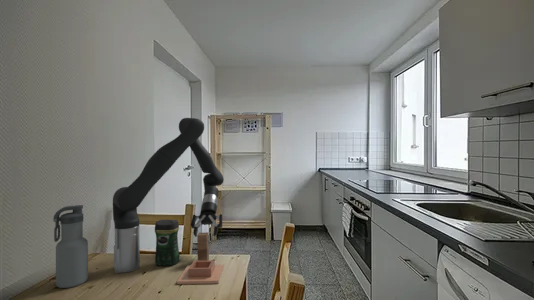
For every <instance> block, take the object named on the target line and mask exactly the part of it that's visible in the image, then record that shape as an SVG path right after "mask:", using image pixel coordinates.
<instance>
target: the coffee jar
mask: <svg viewBox="0 0 534 300" xmlns="http://www.w3.org/2000/svg"><path fill="white" fill-rule="evenodd" d="M179 225H180V224H179V221H178V219H160V220H157V221H155V224H154V233H155V237H156V238H155V239H156V240H155V257H154V263H155V265H156V266H173V265H177V264H178V263H179V262H180V251H179V248H180V247H179V240H178V238H179V237H178V236H179V235H178V232H179V229H180V226H179Z"/></svg>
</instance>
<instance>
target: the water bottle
mask: <svg viewBox="0 0 534 300" xmlns="http://www.w3.org/2000/svg"><path fill="white" fill-rule="evenodd" d="M83 209H84V205H83V204H78V205H77V204H75V205H67V206H63V207H61V208H60V209H58V210H56V212H55V214H54V215H53V219H52V220H53V222H54V223H55V225H54V226H55V227H54V229H53V241H54V242H55V243H56V246H55V285H56V287H58V288H60V289H70V288H74V287H77V286H81V285H82V284H84V283H86V282H87V281H88V278H89V241H88V239H86V238H85V237H84V234H83V233H84V230H83V229H84V227H83V226H84V223H83V222H84V213H83ZM66 211H67V212H68V211H70V212H68V213H67V212H66ZM63 212H64V213H63ZM65 212H66V213H65ZM62 213H63V214H62ZM61 214H62V215H61ZM60 239H61V240H60ZM57 242H58V243H57Z"/></svg>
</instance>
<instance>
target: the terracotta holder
mask: <svg viewBox="0 0 534 300" xmlns="http://www.w3.org/2000/svg"><path fill="white" fill-rule="evenodd" d="M224 270H225V264H216V260H215V259H214V260H210V259H209V260H208V261H198V260H193V261H192V263H191V264H190V265H189V264H188V265H186V267H185V269H184V270H183V272H182V273H181V274H180V276H179V278H177V280H176V285H201V284H202V285H203V284H205V285H209V284H220V281H221V278H222V275H223V272H224Z"/></svg>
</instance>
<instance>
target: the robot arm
mask: <svg viewBox="0 0 534 300" xmlns="http://www.w3.org/2000/svg"><path fill="white" fill-rule="evenodd" d="M178 131H179V132H180V133H179V135H178V136H177V137H175V138H174V139H172V140H170V141H169V142H167V143H166V144H163V146H161V147H159V148H158V149H157V150H156V151H155V152H154V153H153V155H151V156H150V158H149V159H148V160H147V162H146V164H145V165H144V166H143V169H142V171H141V173H140V174H139V176H137V178H136V179H134V180H133V182H132V183H131V184H129V186H122V187H120V188H118V189H117V190H115V192H114V193H113V196H112V219H113V223H114V245H113V270H114V272H115V273H116V274H119V273H122V274H123V273H129V272H133V271H136V270H138V269H139V268H140V267H141V265H140V264H141V261H140V260H141V255H140V254H141V253H140V248H141V247H140V218H139V214H138V207H140V205H141V203H142V202H143V201H144V200H145V198H146V197H147V195H148V194H149V192H150V191H151V190H152V188H154V186H155V185H156V184H157V183H158V182H159V181H160V180H161V179H162V177H163V176H164V175H166V173H167V172H168V171H169V170H170V169H171V167H172V166H173V165H174V164H175V163H176V162H177V160H179V158H180V157H181V156H182V155H183V154H184V153H185V152H186V151H187V149H188V148H190V149H191V151H192V153H193V155H194V156H195V159H196V161H197V163H198V165H199V167H200V170H201V171H202V173H203V174H205V175H204V176H203V178H202V183H203V187H204V192H203V198H202V201H201V207H200V213H199V215H196V214H193V215H192V218H191V220H190V221H191V223H190V227H191V229H193V232H192V233H193V236H194V237H195V238H197V235H198V233H199V229H200V227H202V226H203V225H204V226H206V225H208V226H210V225H212V226H213V237H217V235H218V231H219V229H223V214H219V215H217V213H218V212H217V210H218V204H219V203H218V202H219V201H218V199H219V188H218V186H221V185H223V183H224V175H223V174H222V172H221V171H220V170H219V169H218V168H217V166H216V165H215V163H214V161H213V158H212V156H211V154H210V152H209V151H208V150H207V149H206V147H205V146H204V145H203V143H202V142H201V140H200V139H199V138H200V137H201V136H202V135H203V133H204V131H205V123H204V121H203V120H202V119H199V118H195V117H184V118H182V119H181V120H180V121H179V123H178ZM216 220H218V221H219V222H218V223H217V222H216Z"/></svg>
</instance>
